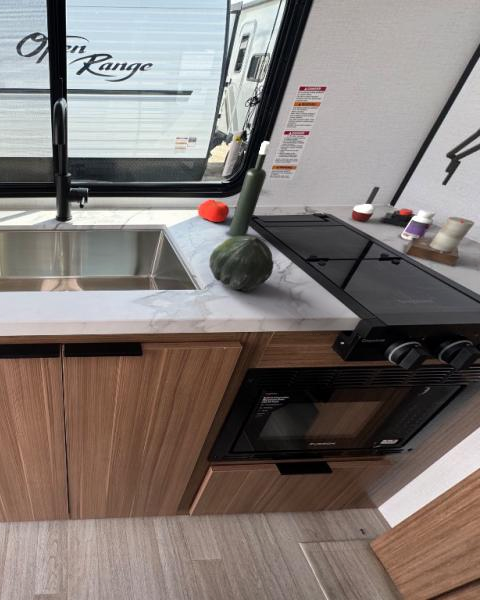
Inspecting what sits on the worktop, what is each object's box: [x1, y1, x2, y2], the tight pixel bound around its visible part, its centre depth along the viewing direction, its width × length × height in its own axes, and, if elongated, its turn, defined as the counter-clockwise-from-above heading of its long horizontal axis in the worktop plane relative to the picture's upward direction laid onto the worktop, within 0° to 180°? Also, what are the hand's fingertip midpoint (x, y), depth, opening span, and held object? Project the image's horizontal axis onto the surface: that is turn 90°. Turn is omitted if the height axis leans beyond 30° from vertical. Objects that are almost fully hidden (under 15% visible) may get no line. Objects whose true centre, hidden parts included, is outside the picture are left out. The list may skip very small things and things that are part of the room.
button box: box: [381, 210, 417, 229], centre depth 124 cm, size 10×8×4 cm
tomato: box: [197, 199, 230, 223], centre depth 124 cm, size 10×11×6 cm
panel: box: [405, 237, 464, 267], centre depth 102 cm, size 12×10×3 cm
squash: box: [208, 235, 274, 292], centre depth 84 cm, size 14×15×15 cm
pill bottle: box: [401, 209, 437, 241], centre depth 111 cm, size 5×5×10 cm
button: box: [399, 208, 414, 216], centre depth 123 cm, size 4×4×2 cm
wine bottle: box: [227, 140, 271, 237], centre depth 105 cm, size 6×6×30 cm
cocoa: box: [351, 186, 380, 223], centre depth 124 cm, size 10×6×12 cm, turn 112°
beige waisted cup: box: [430, 216, 475, 252], centre depth 98 cm, size 6×6×9 cm
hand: (475, 189), depth 93 cm, fingers open, 13 cm apart
